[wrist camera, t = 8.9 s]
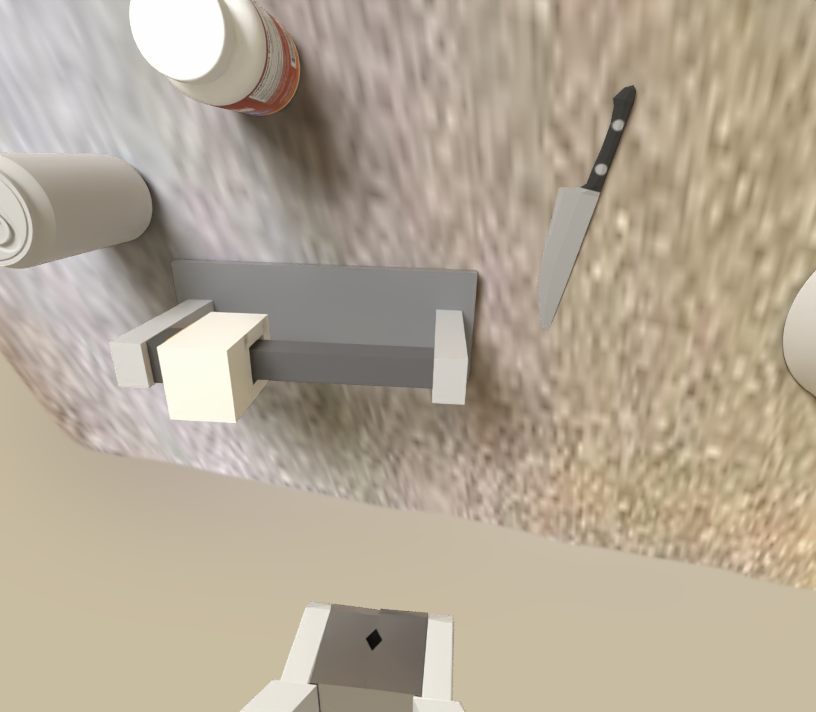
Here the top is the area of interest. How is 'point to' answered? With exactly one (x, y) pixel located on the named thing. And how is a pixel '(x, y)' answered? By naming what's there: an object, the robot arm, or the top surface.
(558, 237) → the chef's knife
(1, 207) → the beverage can
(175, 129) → the top surface
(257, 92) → the pill bottle
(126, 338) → the grey slider rail base
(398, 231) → the top surface
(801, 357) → the robot arm
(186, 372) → the cream sliding block
